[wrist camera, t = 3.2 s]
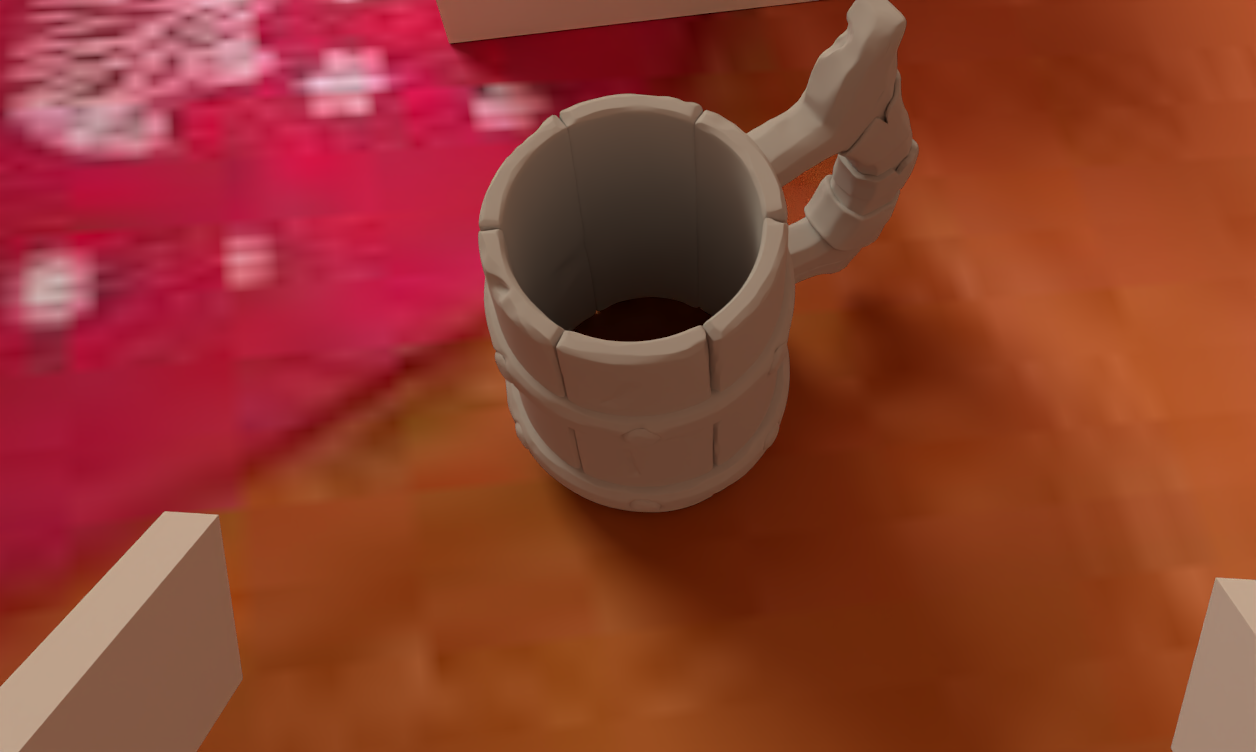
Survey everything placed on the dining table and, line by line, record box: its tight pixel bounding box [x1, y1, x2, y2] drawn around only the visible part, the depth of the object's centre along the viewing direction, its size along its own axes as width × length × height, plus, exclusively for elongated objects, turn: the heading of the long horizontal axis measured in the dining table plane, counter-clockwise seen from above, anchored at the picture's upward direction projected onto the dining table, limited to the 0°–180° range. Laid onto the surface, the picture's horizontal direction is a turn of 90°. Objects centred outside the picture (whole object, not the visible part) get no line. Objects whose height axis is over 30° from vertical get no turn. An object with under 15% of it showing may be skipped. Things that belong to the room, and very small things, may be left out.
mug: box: [478, 0, 919, 512], centre depth 27 cm, size 8×12×12 cm, turn 124°
